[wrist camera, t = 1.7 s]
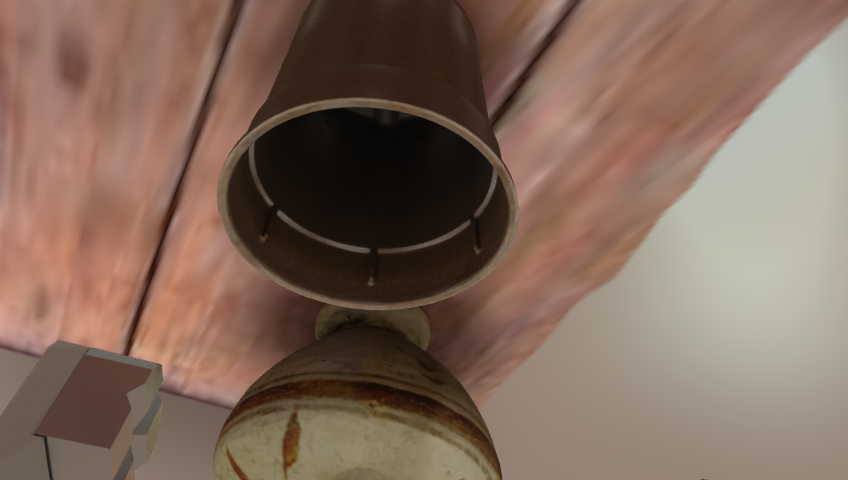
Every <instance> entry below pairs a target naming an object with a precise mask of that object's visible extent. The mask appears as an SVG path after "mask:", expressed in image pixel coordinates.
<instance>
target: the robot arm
mask: <svg viewBox="0 0 848 480" xmlns="http://www.w3.org/2000/svg"><path fill="white" fill-rule="evenodd" d="M162 381H163V375H162V365H161V364H158V363H154V362H150V361H146V360H142V359H137V358H133V357H129V356H125V355H121V354H117V353H112V352H108V351H104V350H100V349H96V348H91V347H86V346H82V345H78V344H73V343H69V342H65V341H60V340H57V341H56V342H55V343H54V344H52V345H51V346H50V347H48V348H47V350H46V351H45V353H44V354H43V355H42V357H41V358H40V360H39V361H38V363H37V364H36V366H35V367H34V369H33V370H32V371H31V373H30V374H29V376H28V377H27V379H26V380H25V382H24V383H23V385H22V386H21V387H20V389H19V390H18V392H17V393H16V394H15V396H14V397H13V399H12V400H11V402H10V403H9V405H8V406H7V407H6V409H5V410H4V412H3V413H2V415H1V416H0V480H135V478H134V477H135V476H134V470H135V469H137V468H139V467H140V466H142V465H143V464H145V463H146V462H147V461H148V459H149V456H150V454H151V452H152V450H153V447H154V445H155V442H156V439H157V436H158V432H159V429H160V426H161V419H162V413H163V400H162V399H161V398H160V397H159V395H158V394H157V391H158V389H159V387H160V385H161V383H162ZM701 480H706V479H701Z"/></svg>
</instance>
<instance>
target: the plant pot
mask: <svg viewBox="0 0 848 480" xmlns="http://www.w3.org/2000/svg"><path fill="white" fill-rule="evenodd" d="M217 204H218V211H219V215H220V219H221V221H222V224H223V226H224V229H225V231H226V233H227V235H228V237H229V238H230V240H231V242H232V243H233V245H234V246H235V248H236V249H237V250H238V251H239V252H240V254H241V255H242V256H243V257H244V258H245V259H246V260H247V261H248V262H249V263H250V264H251V265H252V266H253V267H254V268H255V269H257V270H258V271H259V272H261V273H262V274H263V275H265V276H266V277H268V278H269V279H271V280H272V281H274V282H276V283H277V284H279V285H281V286H283V287H285V288H287V289H289V290H291V291H293V292H295V293H298V294H300V295H303V296H305V297H308V298H311V299H315V300H318V301H321V302H325V303H328V304H333V305H338V306H343V307H348V308H355V309H366V310H392V309H404V308H411V307H417V306H422V305H426V304H431V303H435V302H438V301H441V300H443V299H446V298H449V297H452V296H454V295H456V294H459V293H461V292H463V291H464V290H466V289H468V288H470V287H472V286H473V285H475V284H476V283H478V282H479V281H481V280H482V279H483V278H485V277H486V276H487V275H488V274H489V273H491V272H492V271H493V270H494V268H495V267H496V266H497V265H498V264H499V263H500V262H501V261H502V259H503V258H504V257H505V255H506V253H507V252H508V250H509V248H510V246H511V244H512V242H513V239H514V237H515V233H516V230H517V225H518V218H519V207H518V199H517V194H516V190H515V186H514V182H513V180H512V177H511V175H510V173H509V171H508V169H507V167H506V165H505V164H504V162H503V161H502V158H501V153H500V149H499V145H498V142H497V139H496V137H495V135H494V133H493V131H492V129H491V127H490V125H489V119H488V113H487V107H486V101H485V96H484V90H483V84H482V78H481V72H480V66H479V60H478V54H477V45H476V39H475V35H474V32H473V29H472V26H471V24H470V22H469V20H468V18H467V17H466V15H465V13H464V12H463V11H462V9H461V8H460V7H459V5H458V4H457V3H456V2H455V1H454V0H313V1H312V2H311V3H310V5H309V6H308V8H307V9H306V11H305V13H304V14H303V16H302V19H301V21H300V23H299V26H298V29H297V31H296V34H295V36H294V39H293V41H292V43H291V46H290V48H289V51H288V53H287V55H286V57H285V60H284V62H283V64H282V67H281V69H280V71H279V74H278V76H277V78H276V81H275V83H274V85H273V87H272V90H271V92H270V94H269V97H268V99H267V101H266V102H265V103H264V104H263V105H262V106H261V108H260V109H259V110H258V112H257V113H256V115H255V117H254V118H253V120H252V122H251V125H250V127H249V129H248V131H247V133H246V134H245V135H244V136H243V137H242V138H241V139H240V140H239V141H238V142H237V144H236V145H235V146H234V148H233V149H232V151H231V152H230V154H229V156H228V157H227V160H226V162H225V164H224V166H223V169H222V171H221V174H220V178H219V182H218V188H217Z"/></svg>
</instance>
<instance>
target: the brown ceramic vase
mask: <svg viewBox="0 0 848 480" xmlns="http://www.w3.org/2000/svg"><path fill="white" fill-rule="evenodd" d="M430 333H431V329H430V323H429V320H428V317H427V316H426V314H425V313H424V312H423V311H422V309H421V308H420V307H418V306H417V307H411V308H404V309H392V310H366V309H355V308H348V307H343V306H338V305H333V304H328V303H325V304H324V305H323V306H322V307H321V309H320V310H319V312H318V315H317V318H316V323H315V336H316V339H317V341H316V342H314V343H312V344H309V345H307V346H305V347H303V348H301V349H299V350H298V351H296V352H294V353H293V354H291V355H289V356H288V357H286V358H284V359H283V360H281V361H280V362H279V363H277V364H276V365H274V366H273V367H272V368H271V369H269V370H268V371H267V372H266V373H265V374H263V375H262V376H261V377H260V378H259V379H258V380H257V381H256V382H254V383H253V384H252V385H251V386H250V387H249V389H248V390H247V391H246V392H245V394H244V395H243V396H242V398H241V399H240V400H239V402H238V403H237V405H236V406H235V408H234V409H233V411H232V412H231V414H230V415H229V417H228V419H227V420H226V422H225V424H224V426H223V428H222V430H221V433H220V436H219V438H218V441H217V445H216V448H215V452H214V457H213V471H214V478H215V480H502V474H501V468H500V463H499V460H498V457H497V454H496V451H495V448H494V444H493V442H492V439H491V436H490V433H489V431H488V428H487V426H486V424H485V422H484V420H483V418H482V416H481V414H480V412H479V411H478V409H477V407H476V405H475V404H474V402H473V401H472V399H471V397H470V396H469V394H468V393H467V391H466V390H465V389H464V387H463V386H462V385H461V383H460V382H459V381H458V380H457V379H456V378H455V377H454V376H453V375H452V374H451V373H450V372H449V370H448V369H447V368H446V367H444V366H443V365H442V364H441V363H440V362H439V361H438V360H437V359H435V358H434V357H433V356H432V355H430V354H429V353H427V352H426V349H427V346H428V343H429V339H430Z"/></svg>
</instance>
